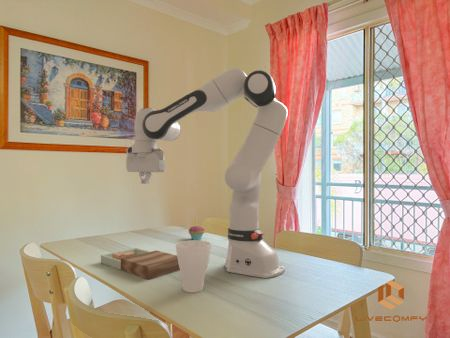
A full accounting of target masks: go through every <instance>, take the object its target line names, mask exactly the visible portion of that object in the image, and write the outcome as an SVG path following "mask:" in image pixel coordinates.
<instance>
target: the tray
mask: <svg viewBox="0 0 450 338" xmlns="http://www.w3.org/2000/svg"><path fill="white" fill-rule="evenodd" d="M119 252H123V253H127V252H133V253H135V255H139V254H143V253H148V252H151V251H150V250H146V249H141V248H137V247H135V248H128V249H125V250H120V251H115V252H110V253H107V254H106V253H105V254H101V255H100V264H102V265H106V266H108V267H111V268H113V269H118V270H120V271H122V270H121V261H120V260H117V259H114V258H112V254H115V253H119Z"/></svg>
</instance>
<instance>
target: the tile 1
mask: <svg viewBox="0 0 450 338" xmlns="http://www.w3.org/2000/svg"><path fill="white" fill-rule="evenodd" d="M118 252H119V253H115V252H114V253H115V254H112V258H114V259H117V260H120V261H121V254H123V252H120V251H118Z"/></svg>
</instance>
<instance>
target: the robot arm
mask: <svg viewBox="0 0 450 338" xmlns="http://www.w3.org/2000/svg"><path fill="white" fill-rule="evenodd" d="M276 89H277V88H276V85H275V82H274V79H273V77H272V75H270V73H268V72H266V71H264V70H254V71H252V72H251V73H249V74H248V75H247V74H246V72H244V71H243V70H242V69H241V68H239V67H232V68H230V69H227V70H225V71H223V72H222V73H220V74H218V75H216V76H215V77H214V78H212V79H211V80H209V81H208V82H206V83H205V84H203V85H202V86H200V87H199V88H197V89H195V90H193V91H192V92H190V93H188V94H186V95H185V96H183V97H181V98H179V99H177V100H176V101H174V102H172V103H170V104H169V105H167V106H165V107H164V108H162V109H161V108H160V109H156V108H153V107H144V108H141V109H139V110H138V111H137V112H136V114H135V119H134V133H135V136H134V137H135V138H134V140H133V141H134V143H133V144H132V145H131V146H129V147H127V148H126V161H125V163H126V165H125V167H126V171H127V172H128V173H138V175H139V178H140V184H146V185H148V184H150V179H151V177H152V173H164V172H165V171H166V161H165V155H164V153H165V152H164V150H163V149H162V148H158V140H160V141H164V142H171V141H175V140H177V139H178V137H179V136H180V135H181V134H180V133H181V130H182V129H181V125H180V123H179V122H178V121H180V120H183V118H186V117H187V116H188V115H190V114H193V113H197V112H213V113H214V112H216V111H219V110H221V109H223V108H225V107H227V106H228V105H229V104H231V103H232V102H234V101H235V100H237V99H239V98H244V99H245V100H246V101H247V102H248V103H250V104H251V105H252V106H253V107H255V108H257V114H256V116H255V119H254V121H253V123H252V125H251V127H250V130H249V131H248V134H247V136H246V138H245V140H244V142H243V143H242V146H241V147H240V148H239V150H238V152H237V153H236V155H235V156H234V158H233V159H232V161H231V163H230V165H229V166H228V167H227V169H226V170H225V173H224V180H225V183H226V185H227V187H229V189H231V190H232V194H231V200H230V204H229V208H228V211H229V212H228V213H229V215H228V217H229V220H228V221H229V222H228V224H229V225H228V228H227V239H228V244H227V245H228V247H227V253H226V258H225V262H224V265H223V266H224V268H225V269H226V270H225V271H226V272H227V273H232V274H238V275H245V276H251V277H257V278H263V279H270V278H273V277H277V276H280V275H282V274H283V273H284V272H285V271H286V268H285V266H284V265H280V264H279V256H278V253H277V252H276V251H275V250H274V249H273V248H272V247H271V246H270V245H269V244H268V243H267V242H266V241H265V240H264V238H263V236H265V235H266V234H265V231H261V230H260V228H259V224H260V223H259V221H260V217H259V216H260V215H259V213H260V209H259V208H260V200H261V188H262V170H263V169H264V167H265V165H267V162H268V160H269V158H270V157H271V156H272V154H273V152H274V149H275V148H276V146H277V143H278V141H279V139H280V136H281V135H282V132H283V130H284V127H285V125H286V123H287V122H286V121H287V118H288V113H289V111H288V108H287V106H286V105H284V104H283V103H282V102H280V101H278V100H277V99H276V96H277V95H276Z"/></svg>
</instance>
